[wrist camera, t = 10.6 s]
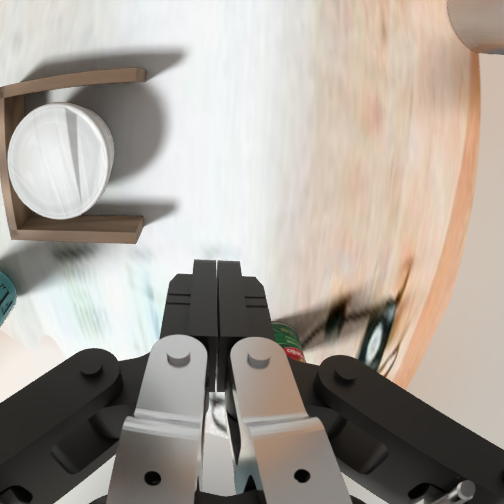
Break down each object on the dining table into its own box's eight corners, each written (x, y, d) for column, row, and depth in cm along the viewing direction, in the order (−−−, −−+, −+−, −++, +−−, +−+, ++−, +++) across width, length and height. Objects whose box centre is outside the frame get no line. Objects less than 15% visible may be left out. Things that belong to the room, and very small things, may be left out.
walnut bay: (16, 85, 23) (-5, 88, 19) (146, 69, 25) (136, 67, 22) (27, 224, 31) (11, 239, 27) (143, 226, 33) (136, 243, 29)
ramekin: (145, 157, 30) (133, 171, 25) (74, 220, 32) (55, 242, 27) (82, 76, 24) (60, 76, 20) (16, 148, 26) (-10, 160, 22)
